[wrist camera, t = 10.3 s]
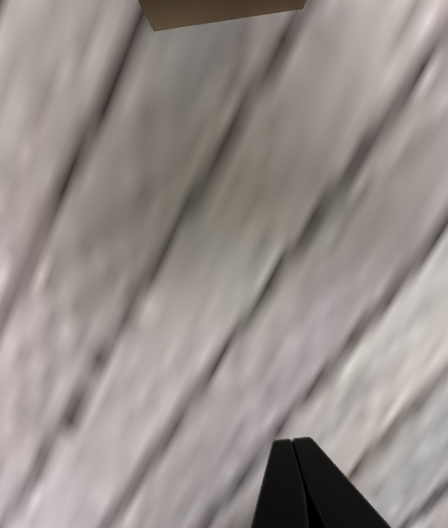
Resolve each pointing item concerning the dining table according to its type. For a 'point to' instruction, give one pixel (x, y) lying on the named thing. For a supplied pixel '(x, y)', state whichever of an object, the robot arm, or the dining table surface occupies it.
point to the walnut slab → (209, 10)
